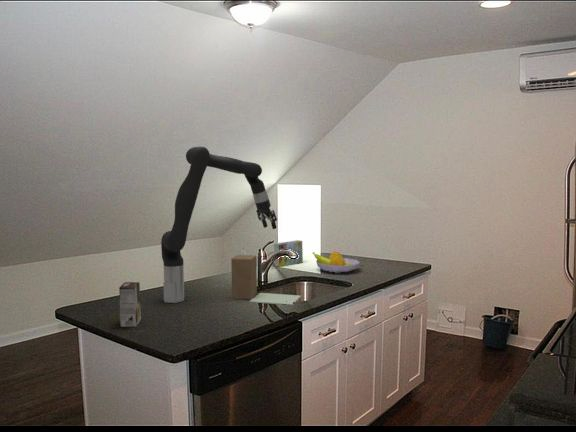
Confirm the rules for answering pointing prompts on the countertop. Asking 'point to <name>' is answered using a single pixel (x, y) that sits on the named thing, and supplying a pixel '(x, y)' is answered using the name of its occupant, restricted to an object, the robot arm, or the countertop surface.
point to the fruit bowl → (336, 263)
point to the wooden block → (244, 277)
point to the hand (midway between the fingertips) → (270, 227)
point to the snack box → (293, 246)
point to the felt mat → (275, 298)
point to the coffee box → (130, 304)
